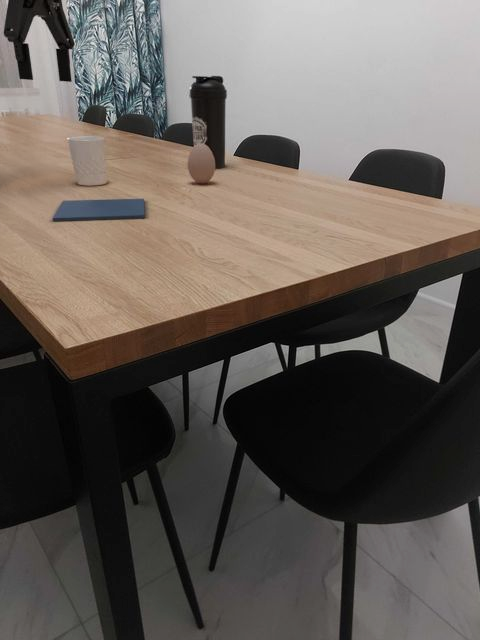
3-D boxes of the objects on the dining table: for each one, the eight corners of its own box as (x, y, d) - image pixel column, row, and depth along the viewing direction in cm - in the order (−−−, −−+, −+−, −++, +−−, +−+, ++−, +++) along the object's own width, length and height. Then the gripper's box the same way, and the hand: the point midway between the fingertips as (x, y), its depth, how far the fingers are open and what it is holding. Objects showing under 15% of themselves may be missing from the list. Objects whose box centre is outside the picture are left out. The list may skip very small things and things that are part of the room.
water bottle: (185, 165, 145) (180, 75, 134) (213, 162, 151) (211, 75, 140) (206, 170, 138) (203, 75, 127) (235, 167, 144) (234, 76, 133)
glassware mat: (53, 221, 89) (52, 218, 89) (63, 203, 101) (62, 200, 101) (145, 218, 92) (144, 214, 92) (144, 201, 104) (144, 198, 104)
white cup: (110, 180, 124) (105, 136, 119) (107, 186, 117) (101, 140, 112) (77, 180, 123) (70, 136, 118) (72, 186, 116) (65, 140, 111)
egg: (199, 179, 126) (197, 140, 122) (221, 182, 123) (220, 143, 119) (183, 184, 121) (180, 143, 117) (205, 187, 118) (203, 145, 114)
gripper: (4, -56, 89) (23, 79, 99) (84, -26, 111) (93, 83, 121) (-31, -56, 91) (-9, 77, 101) (54, -26, 112) (66, 81, 122)
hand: (47, 80), depth 111 cm, fingers open, 13 cm apart
